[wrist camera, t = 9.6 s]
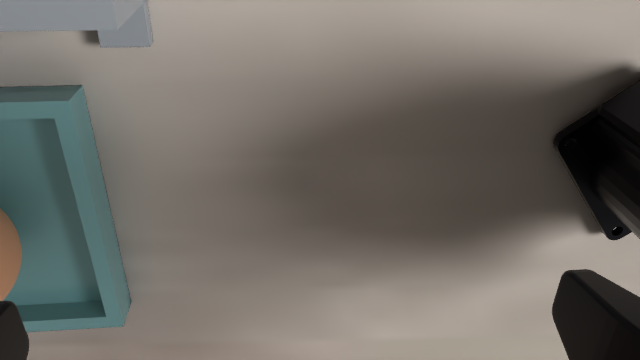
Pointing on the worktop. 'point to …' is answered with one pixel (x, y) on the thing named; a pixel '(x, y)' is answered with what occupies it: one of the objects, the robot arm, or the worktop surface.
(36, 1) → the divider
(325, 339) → the worktop surface
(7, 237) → the ball
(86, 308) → the coaster tray
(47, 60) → the worktop surface
